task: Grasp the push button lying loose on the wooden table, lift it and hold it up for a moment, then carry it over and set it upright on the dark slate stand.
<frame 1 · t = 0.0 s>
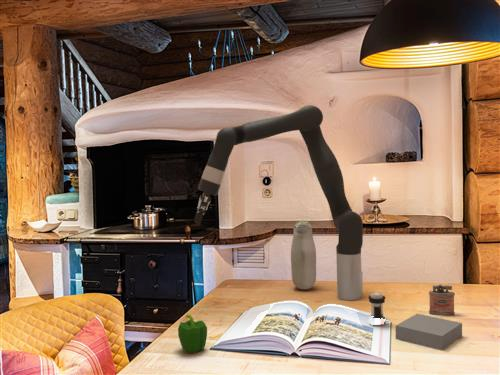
hand: (197, 222, 185), 31 cm above the table, tool tilted 20°, fingers open, 8 cm apart
bell pepper: (193, 350, 146), on the table
grey bottle: (304, 289, 207), on the table
lighter: (441, 314, 171), on the table
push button: (379, 325, 162), on the table
slate stand: (428, 337, 150), on the table
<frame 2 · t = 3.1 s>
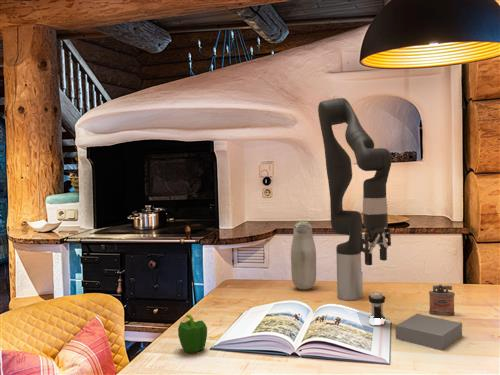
hand: (376, 262, 161), 20 cm above the table, tool pointing down, fingers open, 8 cm apart
nothing on the table moved.
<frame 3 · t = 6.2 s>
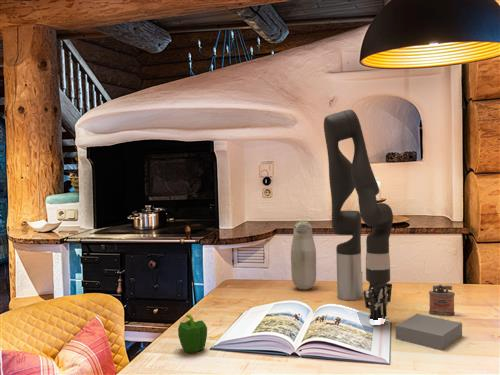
hand: (378, 318, 162), 2 cm above the table, tool pointing down, fingers closed on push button, 5 cm apart
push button: (379, 324, 162), on the table, touching gripper
everything else where it was.
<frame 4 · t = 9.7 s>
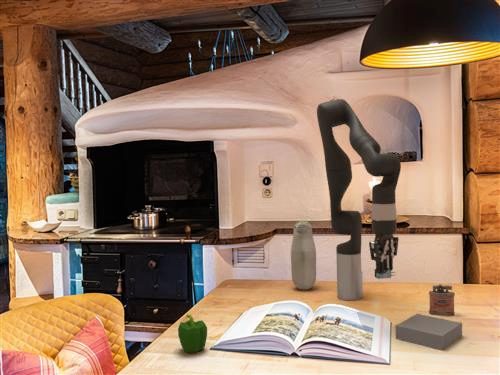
hand: (384, 271, 159), 18 cm above the table, tool pointing down, fingers closed on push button, 5 cm apart
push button: (385, 278, 159), point 16 cm above the table, touching gripper
everything else where it was.
when the fingers open (7 cm above the table, at t = 13.3 s): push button drops 1 cm, resting on slate stand.
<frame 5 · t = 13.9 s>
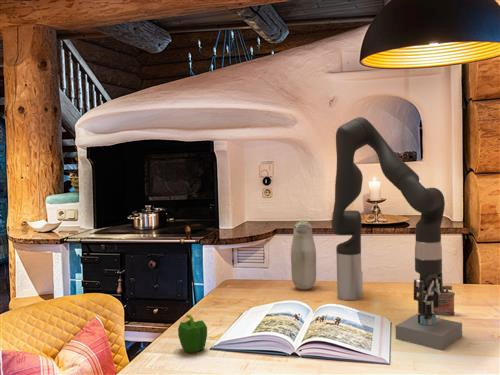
hand: (428, 310, 149), 8 cm above the table, tool pointing down, fingers open, 8 cm apart
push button: (429, 324, 150), point 4 cm above the table, touching slate stand
everything else where it was.
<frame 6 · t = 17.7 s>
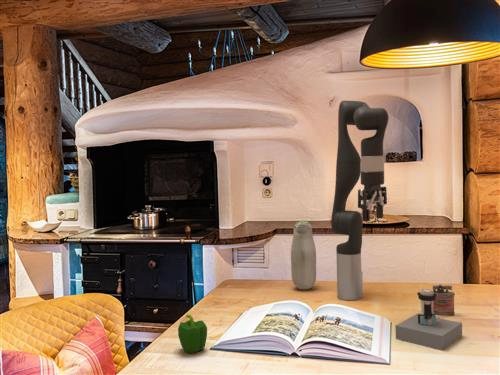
hand: (373, 219, 166), 33 cm above the table, tool pointing down, fingers open, 8 cm apart
nothing on the table moved.
at the end: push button inside the target area on the slate stand (0.5 cm from its centre), point 3.8 cm above the slate stand's base; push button tilted 0°; the gripper is holding nothing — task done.
